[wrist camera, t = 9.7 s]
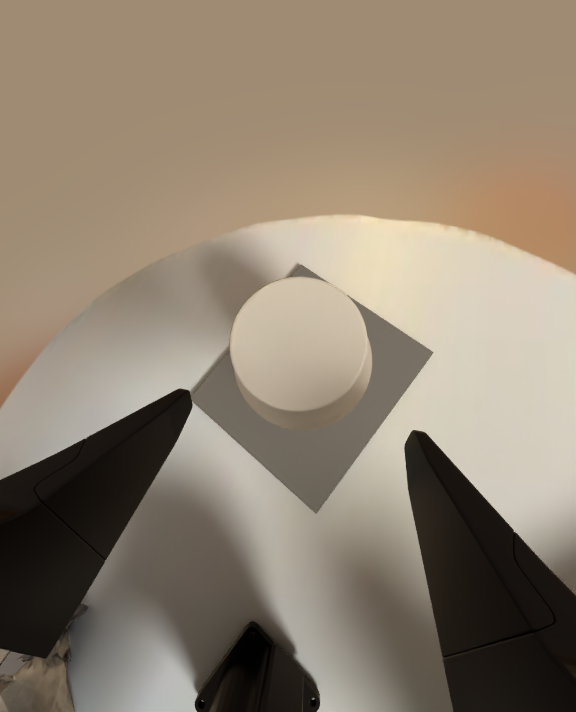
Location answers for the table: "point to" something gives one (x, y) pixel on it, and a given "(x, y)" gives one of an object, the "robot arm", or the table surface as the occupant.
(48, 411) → the table surface
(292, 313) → the supplement bottle
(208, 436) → the table surface
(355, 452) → the mat
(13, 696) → the grey irregular piece
